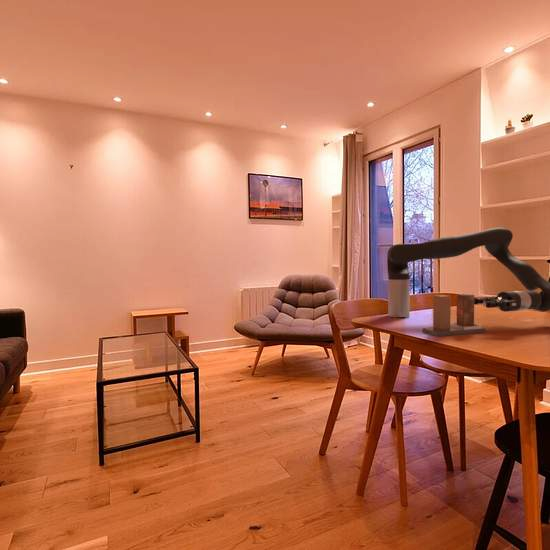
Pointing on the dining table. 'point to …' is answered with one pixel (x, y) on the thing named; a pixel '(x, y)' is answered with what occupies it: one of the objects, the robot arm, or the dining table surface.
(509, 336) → the dining table surface
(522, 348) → the dining table surface
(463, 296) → the wooden post
